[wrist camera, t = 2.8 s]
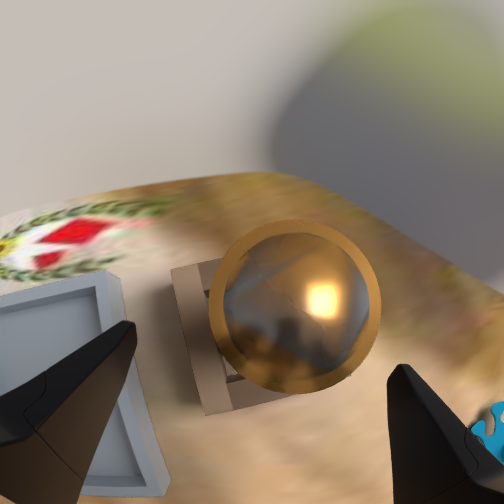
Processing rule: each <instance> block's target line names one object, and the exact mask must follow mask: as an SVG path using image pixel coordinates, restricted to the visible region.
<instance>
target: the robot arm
mask: <svg viewBox="0 0 504 504" xmlns="http://www.w3.org/2000/svg"><path fill="white" fill-rule="evenodd" d="M136 346H137V333H136V325H135V323H134V322H131V321H127V320H122V321H120V322H118V323H117V324H115V325H114V326H112V327H111V328H109V329H108V330H106V331H105V332H103V333H101V334H100V335H98V336H97V337H95V338H94V339H92V340H91V341H89V342H88V343H86V344H84V345H83V346H81V347H80V348H78V349H77V350H75V351H74V352H72V353H71V354H69V355H68V356H66V357H64V358H63V359H61V360H60V361H58V362H57V363H55V364H54V365H52V366H51V367H49V368H48V369H47V370H46V371H43V372H42V373H40V374H38V375H37V376H35V377H34V378H32V379H31V380H29V381H27V382H26V383H24V384H22V385H20V386H18V387H17V388H15V389H13V390H11V391H9V392H7V393H5V394H3V395H1V396H0V504H76V503H77V501H78V498H79V495H80V492H81V489H82V487H83V484H84V481H85V478H86V476H87V473H88V470H89V468H90V465H91V462H92V460H93V457H94V455H95V452H96V450H97V447H98V445H99V442H100V440H101V437H102V435H103V433H104V430H105V428H106V425H107V423H108V421H109V418H110V416H111V414H112V411H113V409H114V407H115V404H116V402H117V400H118V397H119V395H120V393H121V391H122V388H123V386H124V384H125V381H126V378H127V374H128V371H129V368H130V365H131V362H132V359H133V355H134V352H135V349H136ZM387 416H388V429H389V438H390V449H391V461H392V476H393V498H394V504H504V465H503V464H502V463H501V462H500V461H499V460H498V459H497V458H496V457H495V456H494V455H493V454H492V453H491V452H490V451H489V450H488V449H487V448H486V447H485V446H484V445H483V444H482V443H481V442H480V441H479V440H478V439H477V438H476V437H475V436H474V435H473V434H472V433H471V432H470V431H469V429H468V428H467V427H465V425H464V424H463V423H462V422H461V420H460V419H459V418H458V417H457V416H456V415H455V414H454V413H453V412H452V410H451V409H450V408H449V407H448V406H447V405H446V404H445V403H444V402H443V401H442V399H441V398H440V397H439V396H438V395H437V394H436V393H435V392H434V391H433V390H432V389H431V387H430V386H429V385H428V384H427V383H426V382H425V381H424V380H423V379H422V378H421V377H420V376H419V375H418V374H417V372H416V371H415V370H414V369H413V368H412V367H411V366H410V365H408V364H398V365H397V366H396V368H395V369H394V370H393V372H392V373H391V375H390V376H389V378H388V380H387Z"/></svg>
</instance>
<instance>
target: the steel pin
mask: <svg viewBox="0 0 504 504" xmlns="http://www.w3.org/2000/svg"><path fill="white" fill-rule="evenodd" d="M208 304H209V319H210V325H211V329H212V332H213V335H214V338H215V341H216V343H217V345H218V347H219V349H220V351H221V352H222V354H223V355H224V357H225V358H226V360H227V361H228V362H229V363H230V364H231V366H232V367H233V368H234V369H235V370H236V371H237V372H239V373H240V374H241V375H242V376H243V377H245V378H246V379H248V380H249V381H251V382H252V383H254V384H256V385H258V386H260V387H262V388H265V389H268V390H271V391H274V392H279V393H285V394H306V393H313V392H316V391H320V390H324V389H326V388H328V387H331V386H333V385H335V384H337V383H338V382H340V381H342V380H344V379H345V378H346V377H347V376H349V375H350V374H351V373H352V372H353V371H354V370H355V369H356V368H357V367H358V366H359V365H360V364H361V363H362V362H363V360H364V359H365V358H366V356H367V355H368V353H369V351H370V350H371V348H372V346H373V344H374V341H375V339H376V336H377V333H378V329H379V325H380V319H381V297H380V290H379V286H378V282H377V279H376V277H375V274H374V271H373V269H372V268H371V266H370V264H369V262H368V260H367V259H366V258H365V256H364V255H363V253H362V252H361V251H360V250H359V249H358V248H357V246H356V245H355V244H354V243H352V242H351V241H350V240H349V239H348V238H347V237H345V236H344V235H342V234H341V233H339V232H338V231H336V230H334V229H332V228H330V227H327V226H325V225H322V224H319V223H315V222H311V221H305V220H283V221H276V222H273V223H269V224H266V225H263V226H261V227H259V228H256V229H254V230H253V231H251V232H249V233H248V234H246V235H245V236H243V237H242V238H241V239H240V240H238V241H237V242H236V243H235V244H234V245H233V246H232V247H231V248H230V249H229V250H228V252H227V253H226V254H225V256H224V257H223V258H222V260H221V262H220V264H219V266H218V267H217V269H216V272H215V275H214V277H213V280H212V284H211V288H210V293H209V303H208Z"/></svg>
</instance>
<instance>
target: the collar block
mask: <svg viewBox="0 0 504 504" xmlns="http://www.w3.org/2000/svg"><path fill="white" fill-rule="evenodd" d="M221 260H222V258H219V259H215V260H211V261H206V262H202V263H197V264H193V265H189V266H184V267H180V268H175V269H171V275H172V281H173V286H174V291H175V296H176V301H177V306H178V310H179V315H180V320H181V324H182V329H183V333H184V337H185V342H186V346H187V350H188V354H189V358H190V362H191V366H192V370H193V374H194V378H195V382H196V385H197V389H198V393H199V396H200V400H201V403H202V407H203V410H204V414H205V416H208V415H213V414H218V413H223V412H228V411H233V410H237V409H241V408H246V407H250V406H254V405H258V404H262V403H266V402H270V401H273V400H277V399H281V398H284V397H288V396H291V395H295V394H285V393H279V392H274V391H271V390H268V389H265V388H262V387H260V386H258V385H256V384H254V383H252V382H251V381H249V380H248V379H246V378H245V377H243V376H242V375H241V374H238V375H233V376H229V377H227V373H226V369H225V366H224V362H223V358H222V354H221V351H220V349H219V347H218V345H217V343H216V341H215V338H214V335H213V332H212V329H211V325H210V319H209V304H208V303H209V300H208V298H209V293H210V288H211V284H212V280H213V277H214V275H215V272H216V269H217V267H218V266H219V264H220V262H221ZM349 376H351V374H350V375H349ZM349 376H347V377H349Z"/></svg>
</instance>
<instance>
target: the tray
mask: <svg viewBox="0 0 504 504" xmlns="http://www.w3.org/2000/svg"><path fill="white" fill-rule="evenodd" d="M122 320H127V319H126V314H125V308H124V302H123V295H122V289H121V282H120V278H118V277H116V276H115V275H113V274H111V273H110V272H108V271H107V270H102V271H98V272H94V273H90V274H86V275H82V276H78V277H74V278H70V279H66V280H62V281H58V282H54V283H50V284H46V285H42V286H38V287H34V288H30V289H26V290H22V291H18V292H14V293H10V294H7V295H3V296H0V396H1V395H3V394H5V393H7V392H9V391H11V390H13V389H15V388H17V387H18V386H20V385H22V384H24V383H26V382H27V381H29V380H31V379H32V378H34V377H35V376H37V375H38V374H40V373H42V372H43V371H46V370H47V369H48V368H49V367H51V366H52V365H54V364H55V363H57V362H58V361H60V360H61V359H63V358H64V357H66V356H68V355H69V354H71V353H72V352H74V351H75V350H77V349H78V348H80V347H81V346H83V345H84V344H86V343H88V342H89V341H91V340H92V339H94V338H95V337H97V336H98V335H100V334H101V333H103V332H105V331H106V330H108V329H109V328H111V327H112V326H114V325H115V324H117V323H118V322H120V321H122ZM171 481H172V480H171V477H170V474H169V472H168V469H167V466H166V464H165V461H164V458H163V455H162V453H161V450H160V447H159V444H158V441H157V438H156V435H155V432H154V429H153V425H152V422H151V419H150V416H149V412H148V409H147V405H146V402H145V398H144V394H143V391H142V387H141V383H140V379H139V375H138V371H137V367H136V363H135V358H134V355H133V359H132V362H131V365H130V368H129V371H128V374H127V378H126V381H125V384H124V386H123V388H122V391H121V393H120V395H119V397H118V400H117V402H116V404H115V407H114V409H113V411H112V414H111V416H110V418H109V421H108V423H107V425H106V428H105V430H104V433H103V435H102V437H101V440H100V442H99V445H98V447H97V450H96V452H95V455H94V457H93V460H92V462H91V465H90V468H89V470H88V473H87V476H86V478H85V481H84V484H83V487H82V489H81V492H80V495H90V496H105V497H160V496H164V495H165V493H166V491H167V489H168V487H169V485H170V483H171Z"/></svg>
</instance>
